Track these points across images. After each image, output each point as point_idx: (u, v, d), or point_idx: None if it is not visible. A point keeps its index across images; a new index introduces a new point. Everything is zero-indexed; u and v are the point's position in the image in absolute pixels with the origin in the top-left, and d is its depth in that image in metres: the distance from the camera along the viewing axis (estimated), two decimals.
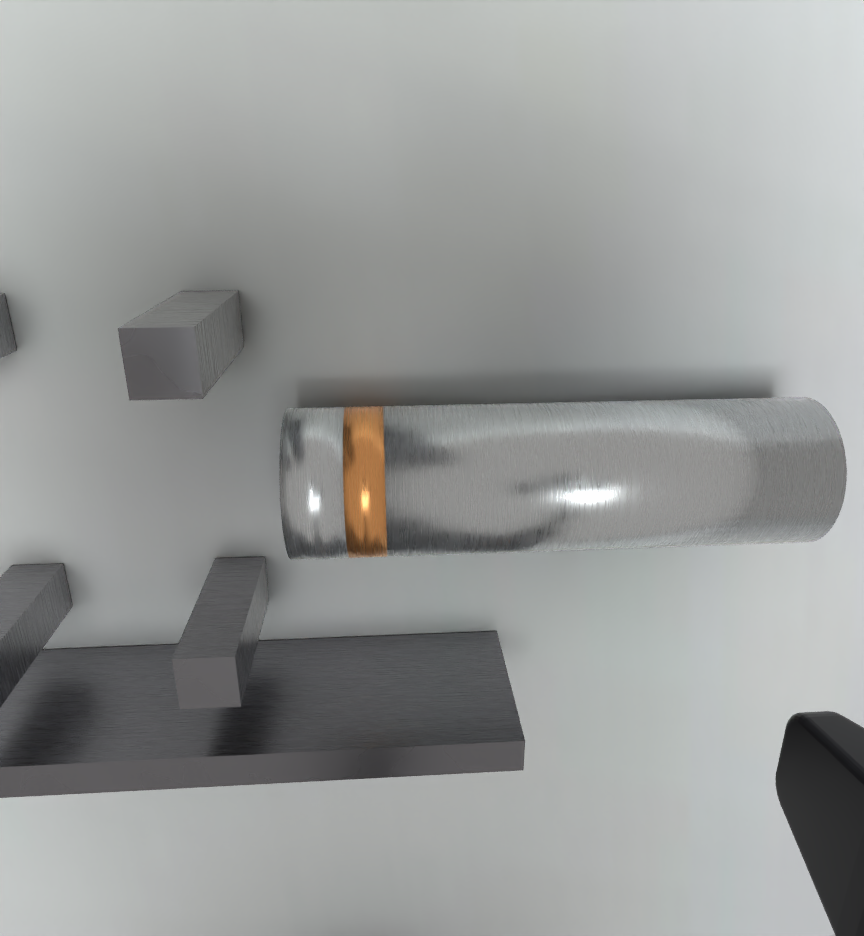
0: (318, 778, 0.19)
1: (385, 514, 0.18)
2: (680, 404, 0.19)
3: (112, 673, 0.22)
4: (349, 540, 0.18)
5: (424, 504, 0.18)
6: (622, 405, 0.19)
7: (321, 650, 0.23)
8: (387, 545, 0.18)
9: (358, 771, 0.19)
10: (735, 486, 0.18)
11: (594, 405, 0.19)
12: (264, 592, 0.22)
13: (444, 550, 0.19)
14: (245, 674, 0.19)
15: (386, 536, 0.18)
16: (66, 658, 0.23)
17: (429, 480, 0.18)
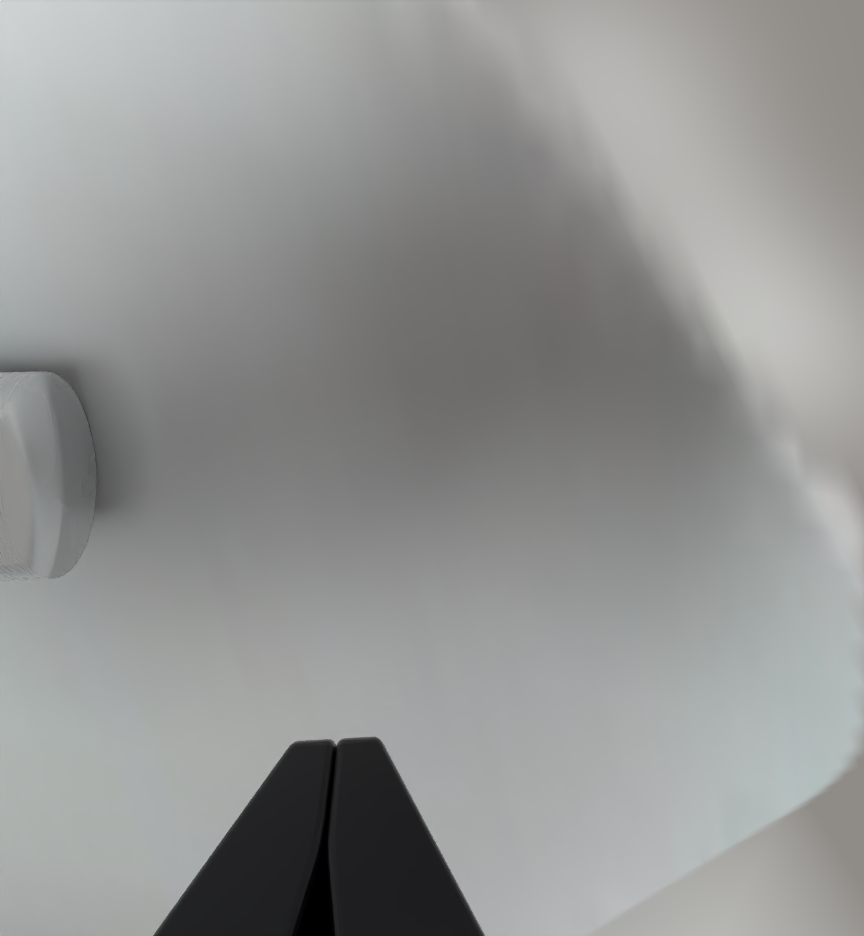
0: None
1: None
2: None
3: None
4: None
5: None
6: None
7: None
8: None
9: None
10: None
11: None
12: None
13: None
14: None
15: None
16: None
17: None
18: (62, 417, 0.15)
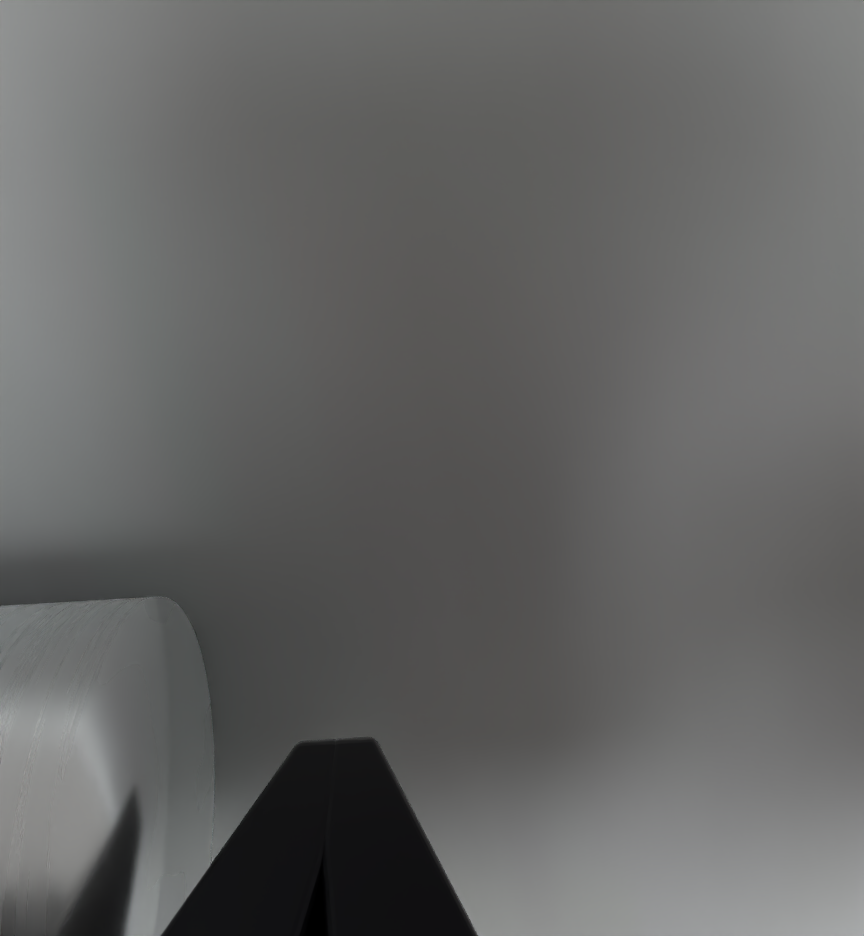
0: None
1: None
2: None
3: None
4: None
5: None
6: None
7: None
8: None
9: None
10: None
11: None
12: None
13: None
14: None
15: None
16: None
17: None
18: (166, 680, 0.07)
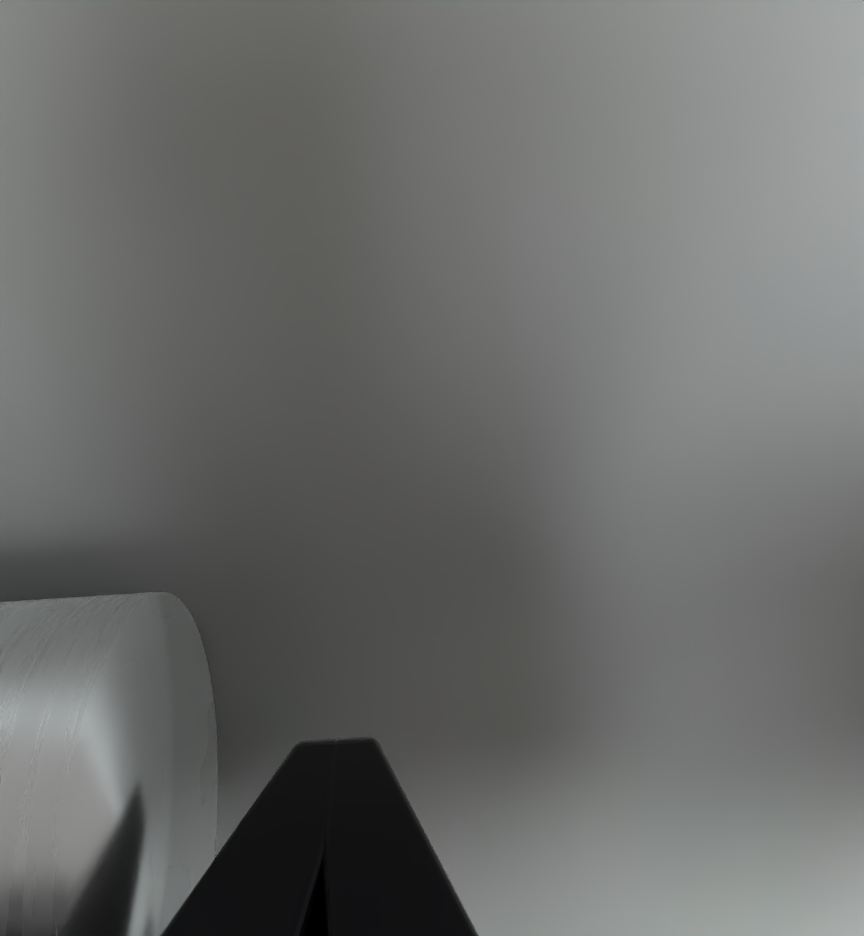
0: None
1: None
2: None
3: None
4: None
5: None
6: None
7: None
8: None
9: None
10: None
11: None
12: None
13: None
14: None
15: None
16: None
17: None
18: (170, 675, 0.07)
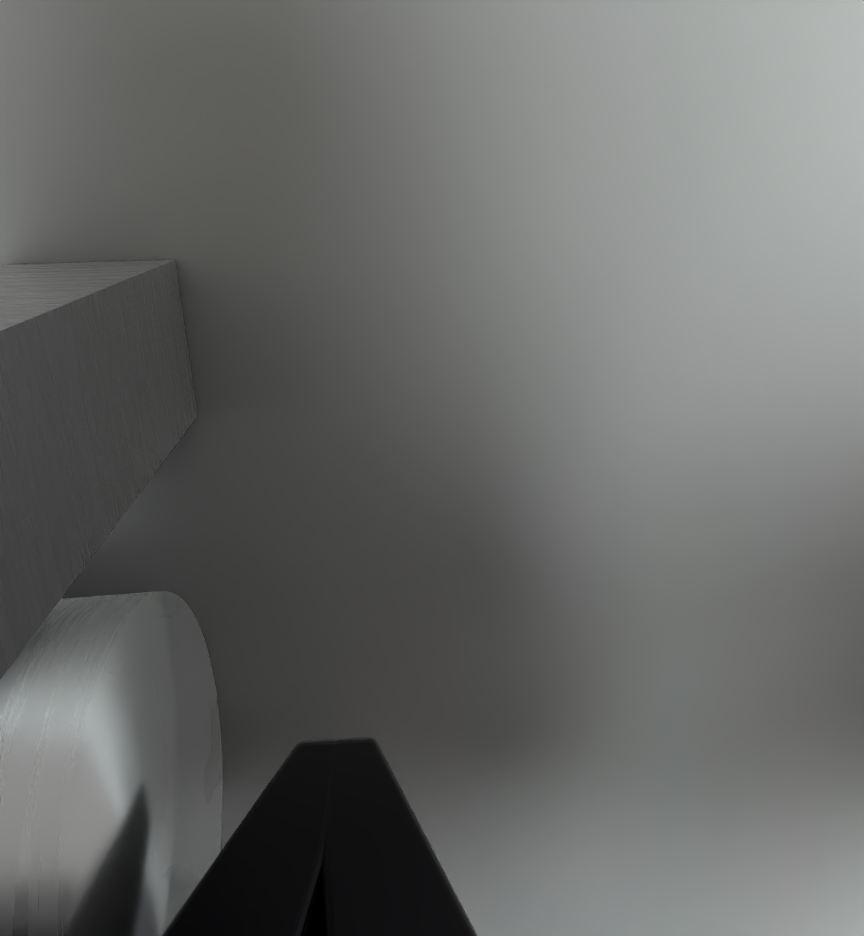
0: None
1: None
2: None
3: None
4: None
5: None
6: None
7: None
8: None
9: None
10: None
11: None
12: None
13: None
14: None
15: None
16: None
17: None
18: (173, 674, 0.07)
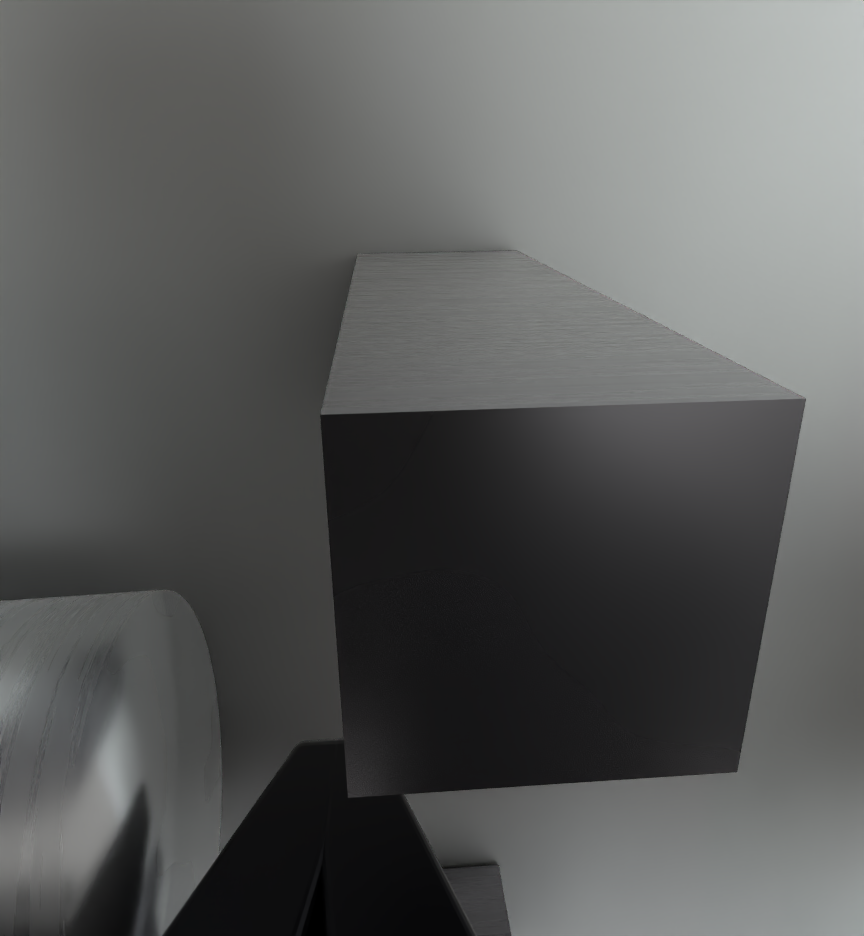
0: None
1: None
2: None
3: None
4: None
5: None
6: None
7: None
8: None
9: None
10: None
11: None
12: None
13: None
14: None
15: None
16: None
17: None
18: (173, 673, 0.07)
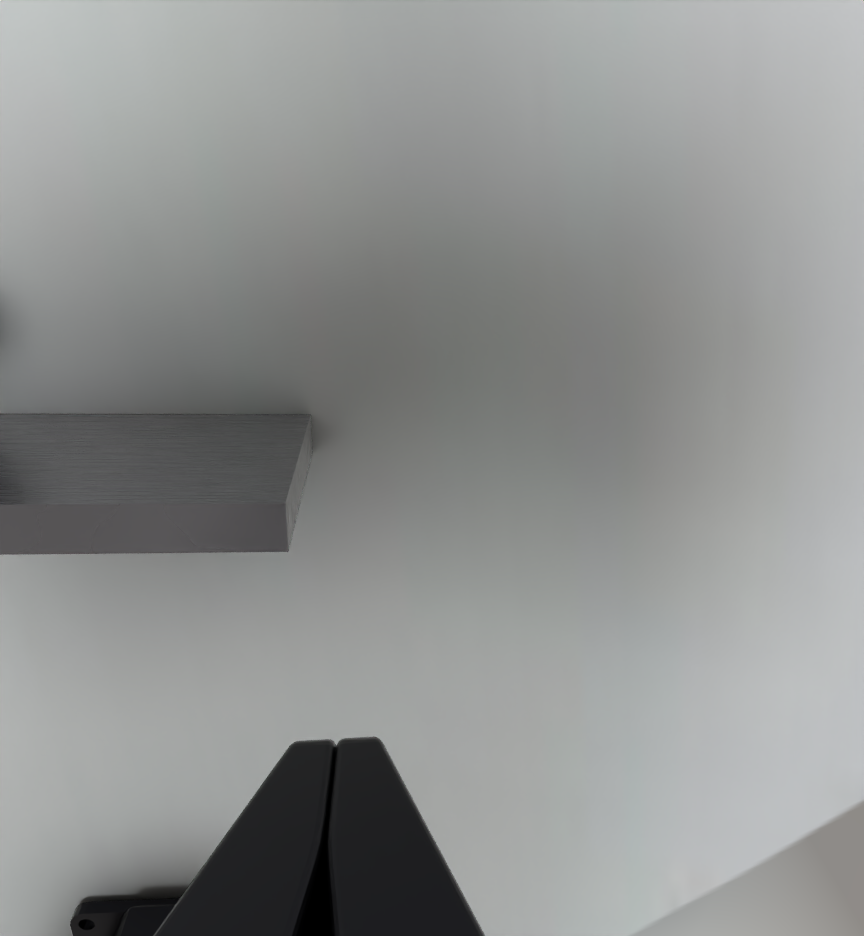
0: None
1: None
2: None
3: None
4: None
5: None
6: None
7: (60, 423, 0.17)
8: None
9: (41, 542, 0.13)
10: None
11: None
12: None
13: None
14: None
15: None
16: None
17: None
18: None
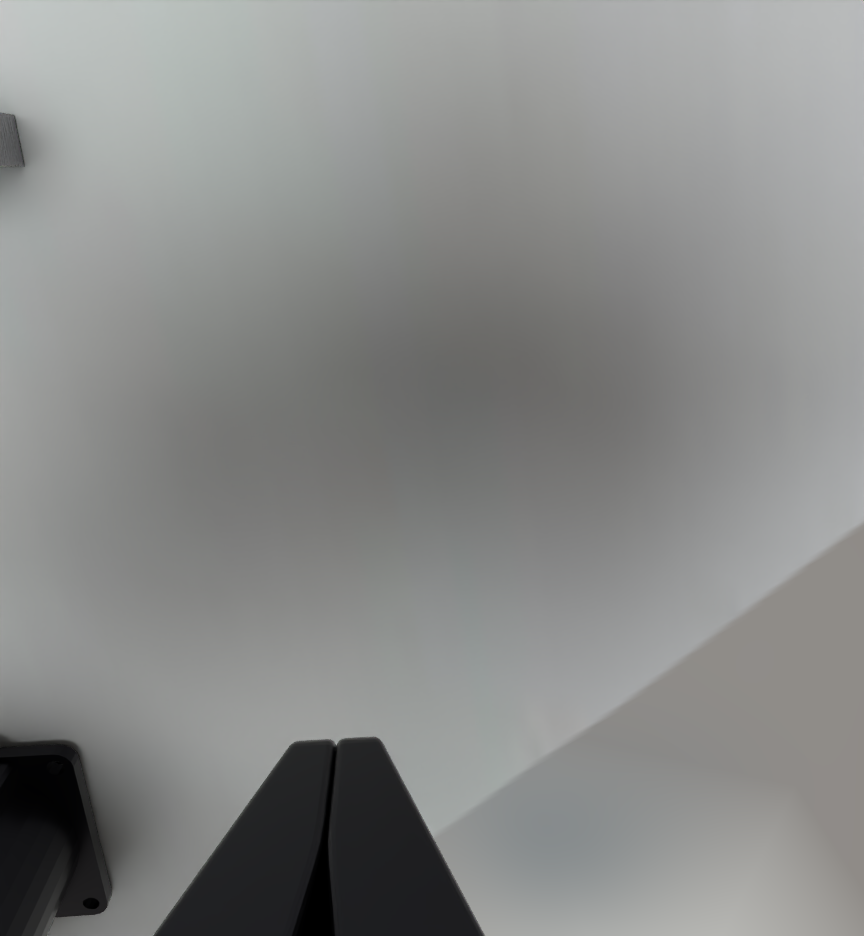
0: None
1: None
2: None
3: None
4: None
5: None
6: None
7: None
8: None
9: None
10: None
11: None
12: None
13: None
14: None
15: None
16: None
17: None
18: None
